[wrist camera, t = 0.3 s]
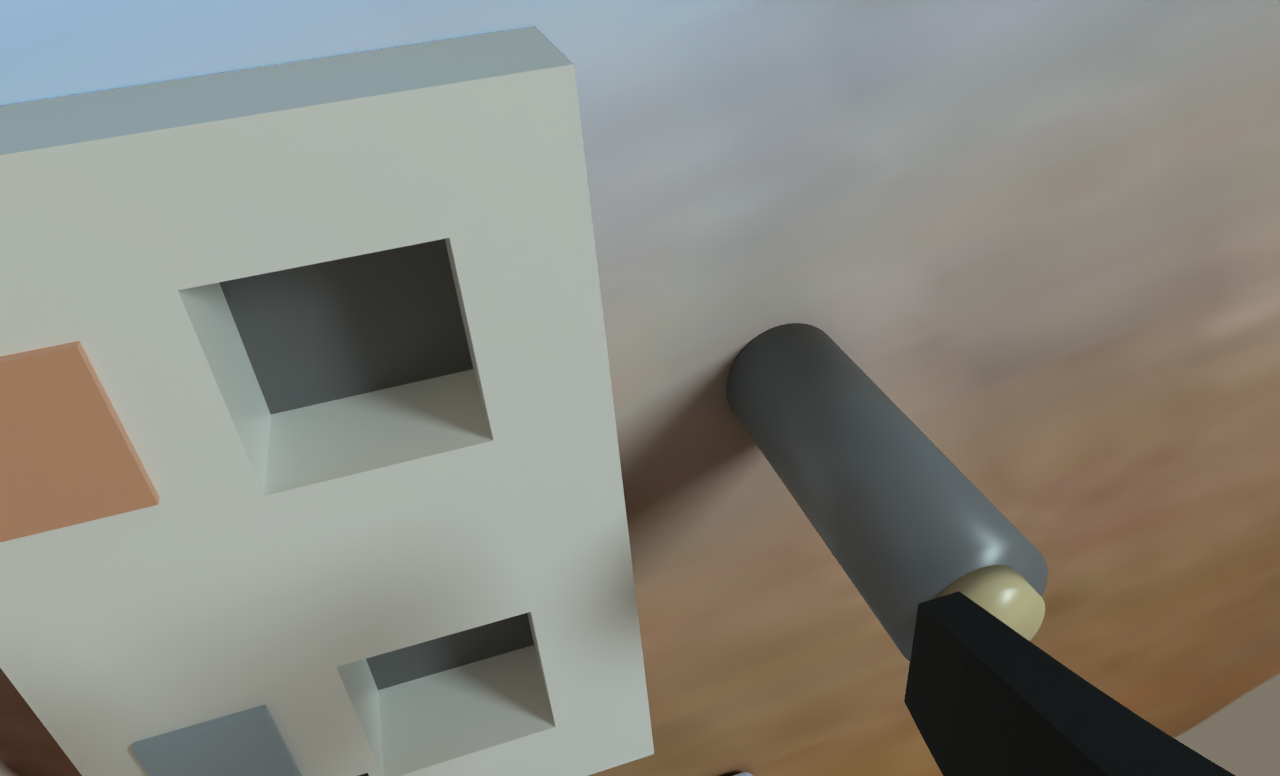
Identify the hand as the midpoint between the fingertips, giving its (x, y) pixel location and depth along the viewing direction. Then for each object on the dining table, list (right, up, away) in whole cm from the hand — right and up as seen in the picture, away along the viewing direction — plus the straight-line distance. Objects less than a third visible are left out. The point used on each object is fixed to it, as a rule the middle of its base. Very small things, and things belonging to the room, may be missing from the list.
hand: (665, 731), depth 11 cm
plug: (+3, +5, +11) cm, 12 cm away
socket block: (-7, +2, +9) cm, 11 cm away
